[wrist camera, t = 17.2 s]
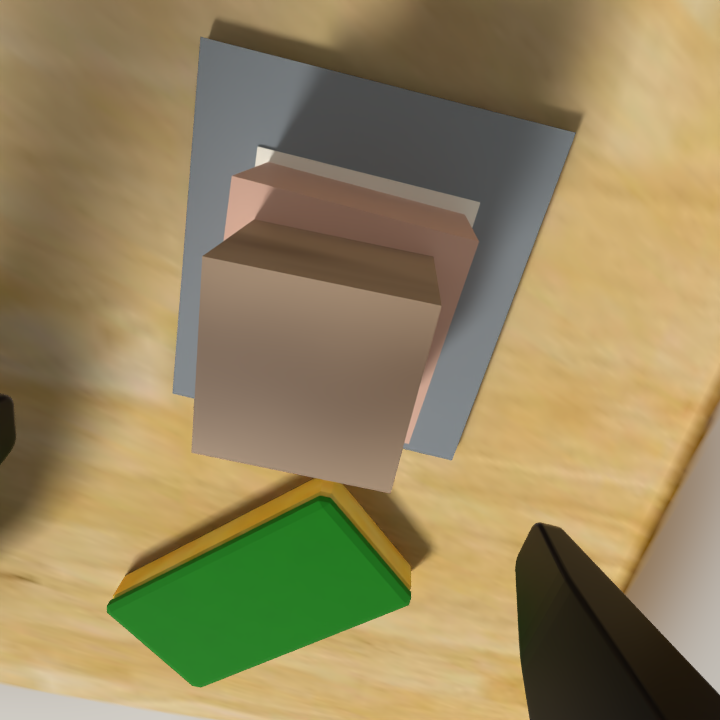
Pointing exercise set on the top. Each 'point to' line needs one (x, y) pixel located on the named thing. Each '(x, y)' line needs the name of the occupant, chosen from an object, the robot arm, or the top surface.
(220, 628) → the dish sponge
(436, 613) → the top surface
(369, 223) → the pink square block
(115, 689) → the top surface
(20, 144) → the top surface
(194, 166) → the slate mat
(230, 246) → the walnut cube
